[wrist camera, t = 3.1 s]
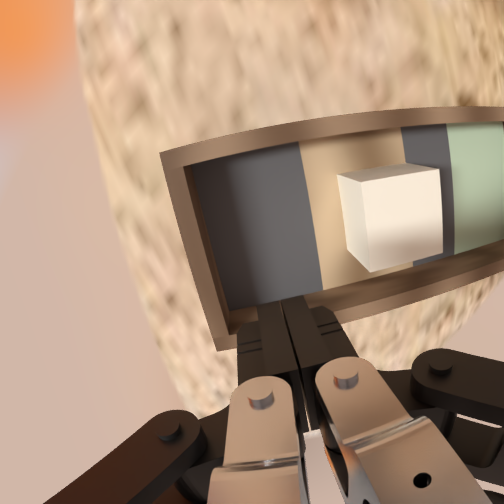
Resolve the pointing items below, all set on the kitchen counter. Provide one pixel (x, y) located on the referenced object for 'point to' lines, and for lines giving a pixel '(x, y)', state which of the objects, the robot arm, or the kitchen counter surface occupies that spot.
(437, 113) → the channel
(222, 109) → the kitchen counter surface
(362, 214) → the cream block
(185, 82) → the kitchen counter surface
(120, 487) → the robot arm
